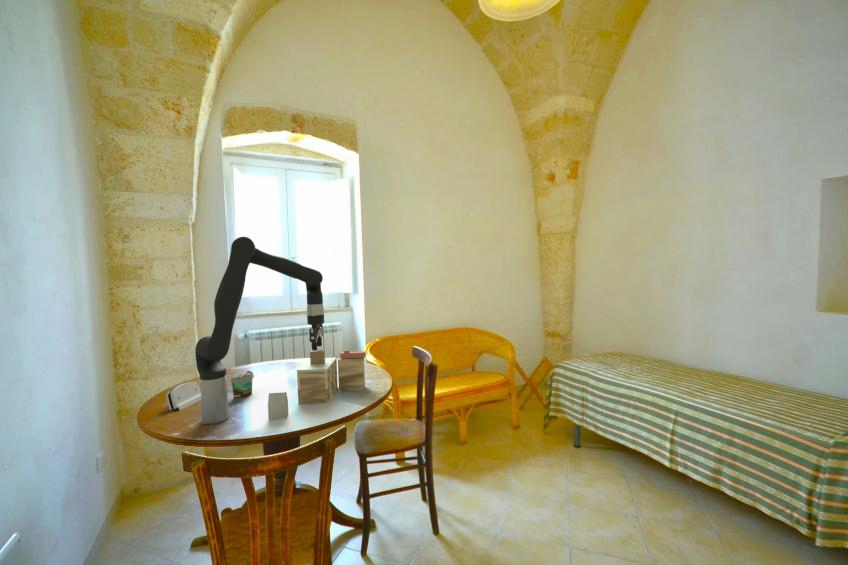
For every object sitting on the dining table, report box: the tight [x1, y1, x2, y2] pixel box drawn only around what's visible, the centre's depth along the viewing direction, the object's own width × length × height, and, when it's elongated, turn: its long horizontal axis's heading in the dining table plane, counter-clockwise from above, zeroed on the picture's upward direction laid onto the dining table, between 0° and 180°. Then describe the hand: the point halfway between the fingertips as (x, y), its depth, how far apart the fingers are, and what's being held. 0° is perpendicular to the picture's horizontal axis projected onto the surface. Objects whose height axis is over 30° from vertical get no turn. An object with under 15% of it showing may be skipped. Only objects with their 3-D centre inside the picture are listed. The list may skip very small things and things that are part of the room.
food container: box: [230, 370, 255, 400], centre depth 177 cm, size 12×6×10 cm, turn 168°
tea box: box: [267, 391, 289, 421], centre depth 151 cm, size 4×7×10 cm, turn 97°
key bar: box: [339, 349, 367, 359], centre depth 182 cm, size 2×12×4 cm, turn 91°
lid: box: [296, 349, 338, 373], centre depth 174 cm, size 20×13×8 cm, turn 1°
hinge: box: [165, 381, 201, 411], centre depth 169 cm, size 17×5×10 cm, turn 173°
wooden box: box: [296, 356, 366, 405], centre depth 175 cm, size 20×26×15 cm
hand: (317, 348), depth 174 cm, fingers open, 8 cm apart
